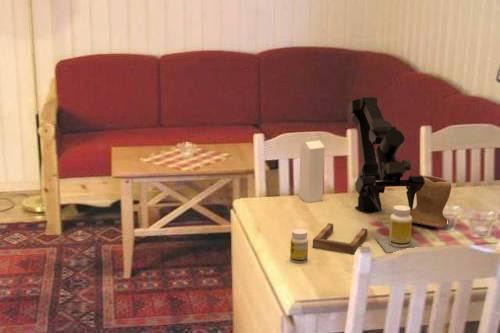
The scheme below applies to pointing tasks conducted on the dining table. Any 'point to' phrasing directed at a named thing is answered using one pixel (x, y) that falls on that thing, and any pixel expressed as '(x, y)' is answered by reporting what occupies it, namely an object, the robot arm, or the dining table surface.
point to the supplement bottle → (299, 246)
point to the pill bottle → (400, 227)
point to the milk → (311, 170)
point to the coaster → (390, 249)
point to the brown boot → (431, 202)
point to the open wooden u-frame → (337, 246)
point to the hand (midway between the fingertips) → (396, 209)
